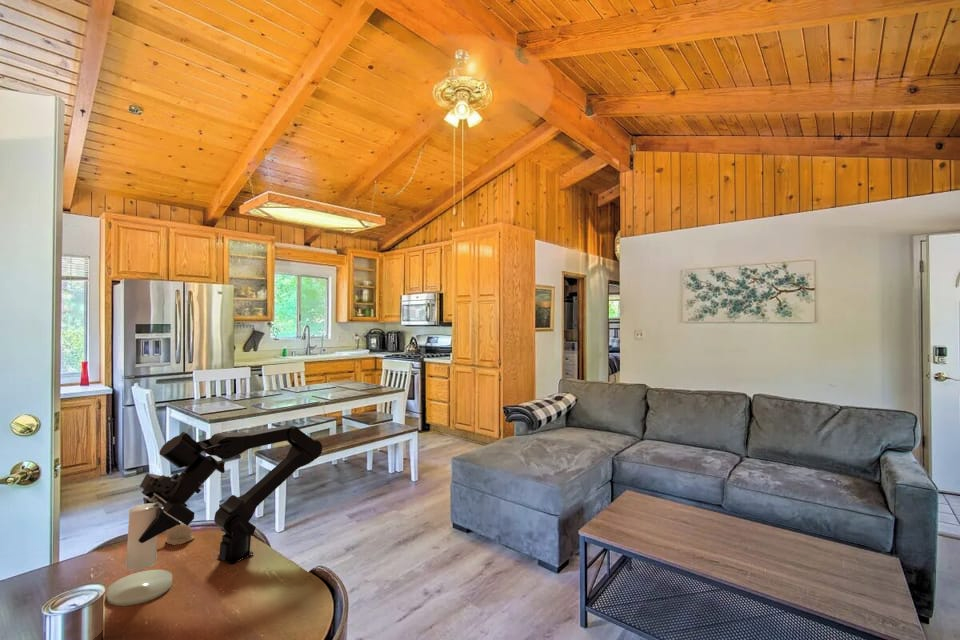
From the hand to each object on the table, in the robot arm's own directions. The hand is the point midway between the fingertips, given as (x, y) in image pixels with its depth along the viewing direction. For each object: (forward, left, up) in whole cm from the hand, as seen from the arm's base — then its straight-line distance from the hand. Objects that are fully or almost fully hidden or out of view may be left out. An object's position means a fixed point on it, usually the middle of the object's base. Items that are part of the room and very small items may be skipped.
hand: (135, 537), depth 103 cm
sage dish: (-1, +1, -12) cm, 12 cm away
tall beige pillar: (-1, 0, -7) cm, 7 cm away
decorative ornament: (-19, -17, -13) cm, 28 cm away
